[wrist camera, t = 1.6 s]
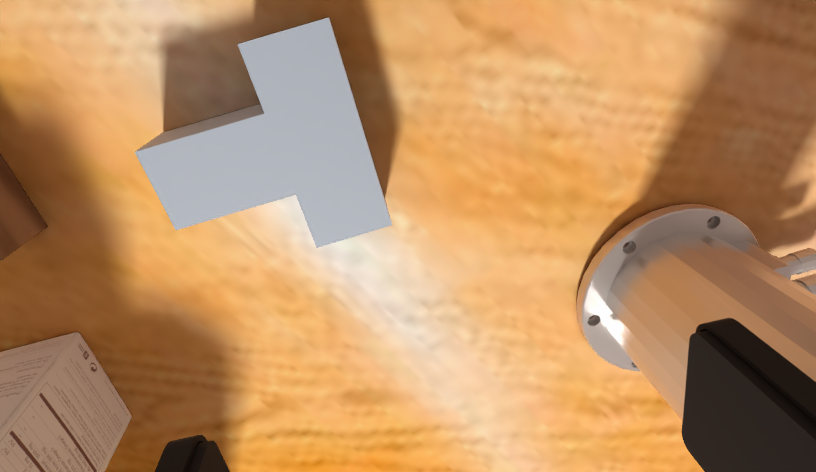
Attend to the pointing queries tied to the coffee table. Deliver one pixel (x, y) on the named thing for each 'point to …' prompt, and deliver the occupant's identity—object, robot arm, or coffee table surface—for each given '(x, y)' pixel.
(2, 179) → the walnut fence
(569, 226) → the coffee table surface
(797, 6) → the coffee table surface
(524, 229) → the coffee table surface
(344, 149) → the tee block
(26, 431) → the supplement box
